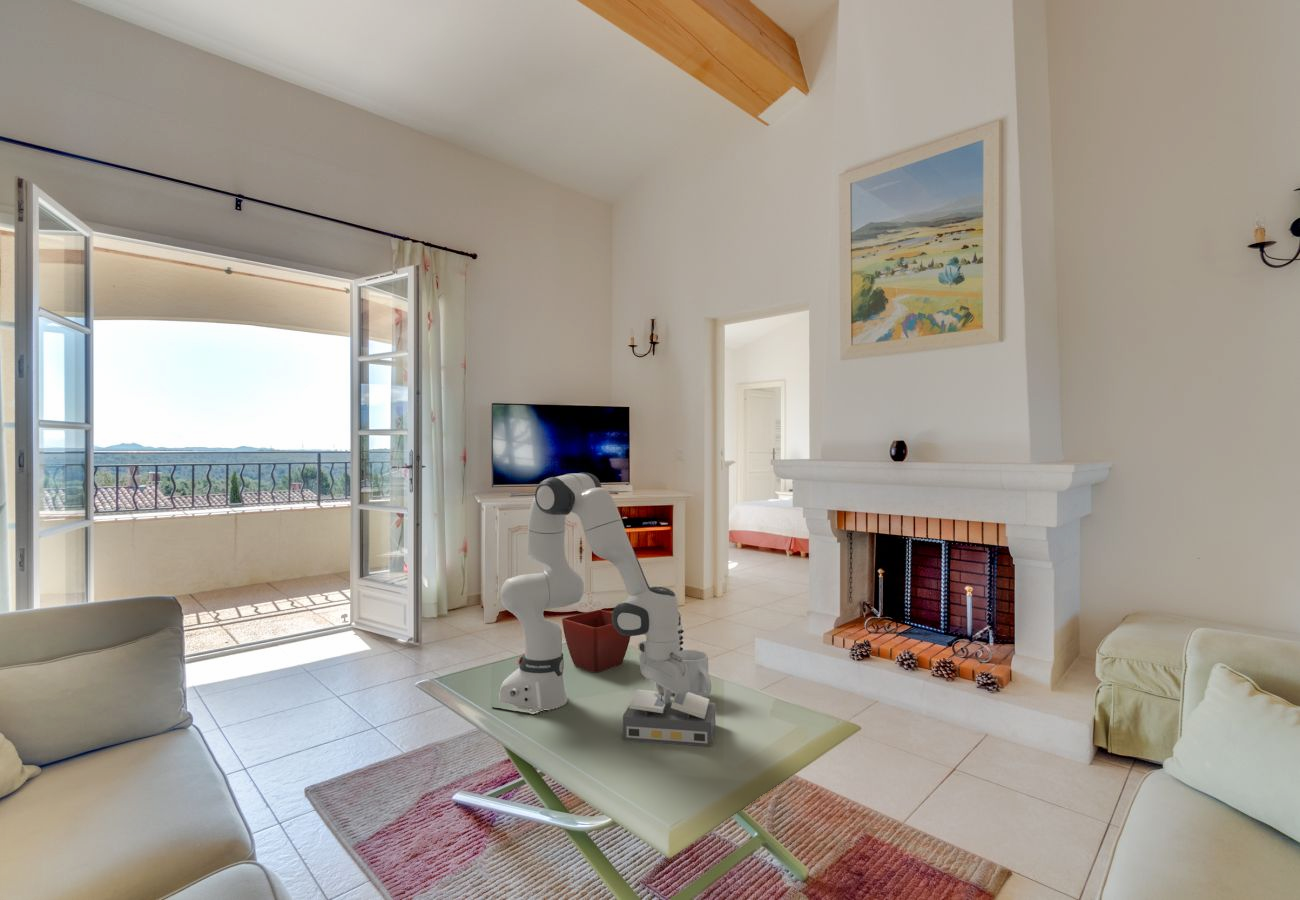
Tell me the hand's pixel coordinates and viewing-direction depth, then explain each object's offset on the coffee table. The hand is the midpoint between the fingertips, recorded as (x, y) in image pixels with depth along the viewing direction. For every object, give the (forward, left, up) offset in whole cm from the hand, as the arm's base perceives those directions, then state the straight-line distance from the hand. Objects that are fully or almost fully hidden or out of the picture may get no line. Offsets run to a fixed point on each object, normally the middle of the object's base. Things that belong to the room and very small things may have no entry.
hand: (664, 701), depth 160 cm
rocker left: (-4, 0, 0) cm, 4 cm away
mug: (+5, +24, -8) cm, 26 cm away
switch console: (+1, 0, -8) cm, 8 cm away
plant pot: (-33, +50, -8) cm, 61 cm away
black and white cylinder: (-3, +31, -8) cm, 32 cm away
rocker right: (+7, 0, 0) cm, 7 cm away
